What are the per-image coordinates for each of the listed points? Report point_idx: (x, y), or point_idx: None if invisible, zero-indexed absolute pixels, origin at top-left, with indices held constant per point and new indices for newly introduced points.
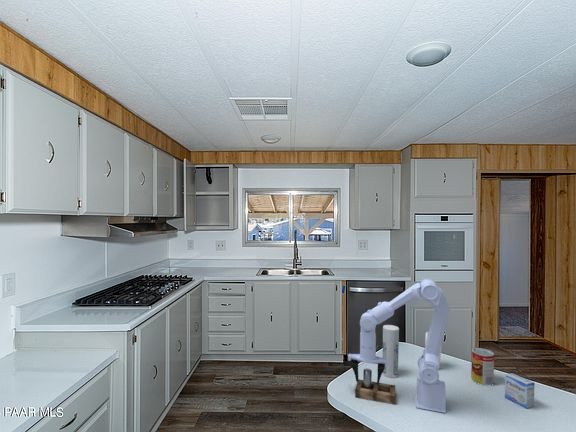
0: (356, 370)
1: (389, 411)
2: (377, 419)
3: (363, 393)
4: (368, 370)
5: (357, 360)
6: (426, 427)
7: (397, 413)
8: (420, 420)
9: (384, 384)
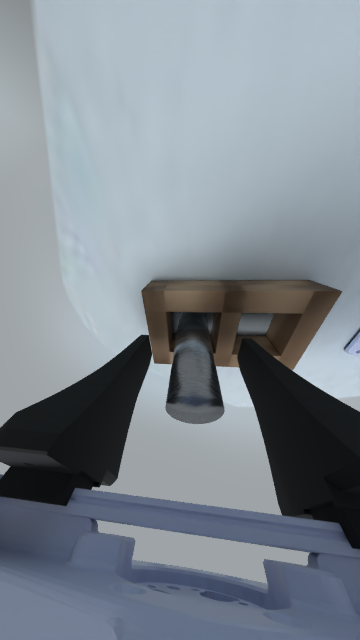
0: (127, 418)
1: None
2: None
3: None
4: (200, 409)
5: (81, 506)
6: None
7: None
8: (318, 386)
9: (278, 300)
